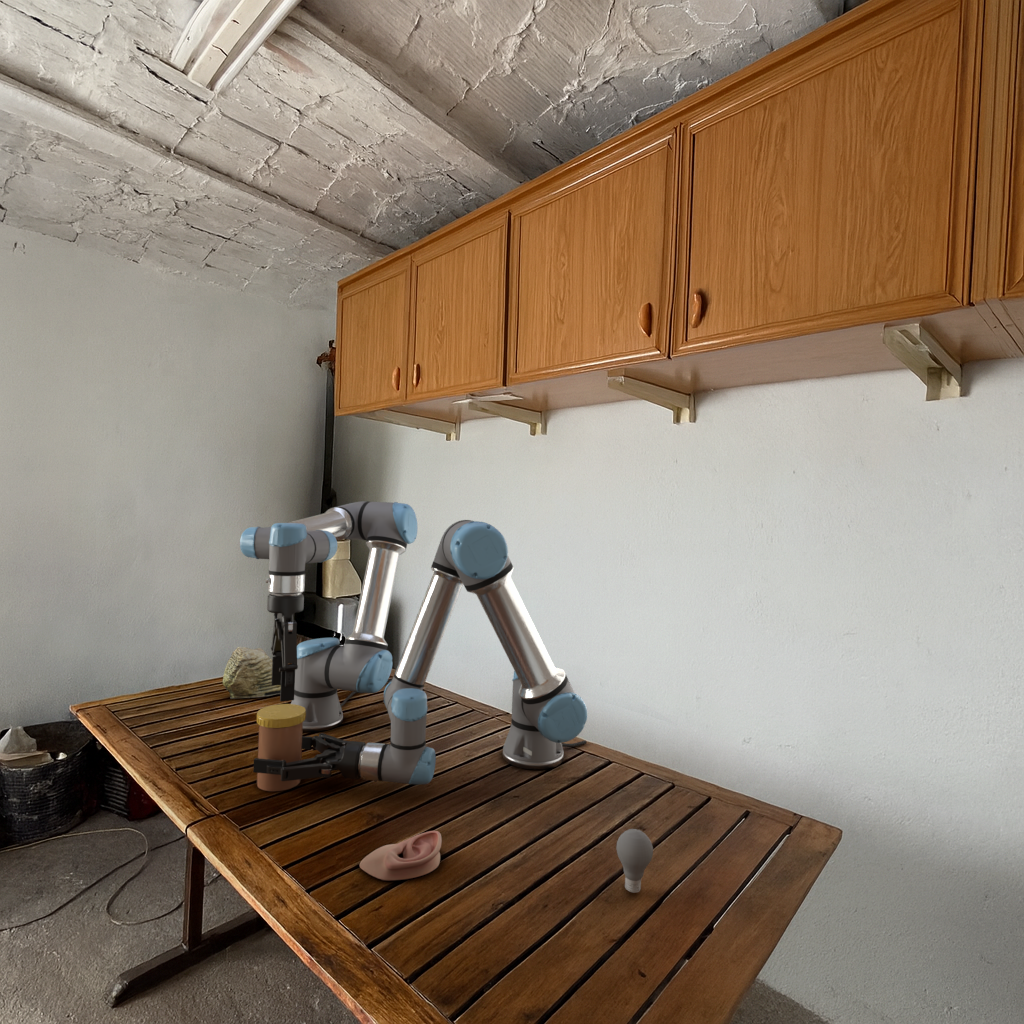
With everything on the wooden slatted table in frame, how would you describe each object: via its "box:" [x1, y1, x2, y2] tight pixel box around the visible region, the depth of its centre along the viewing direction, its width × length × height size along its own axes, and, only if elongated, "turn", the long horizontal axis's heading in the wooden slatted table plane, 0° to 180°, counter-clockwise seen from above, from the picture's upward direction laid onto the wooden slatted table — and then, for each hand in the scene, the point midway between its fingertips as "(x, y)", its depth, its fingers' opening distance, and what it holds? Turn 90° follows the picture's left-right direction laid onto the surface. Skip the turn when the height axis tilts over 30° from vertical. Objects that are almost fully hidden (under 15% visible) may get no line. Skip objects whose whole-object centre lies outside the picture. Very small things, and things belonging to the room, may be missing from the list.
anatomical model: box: [359, 830, 443, 882], centre depth 111 cm, size 13×4×12 cm
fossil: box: [222, 646, 281, 699], centre depth 198 cm, size 9×18×15 cm, turn 132°
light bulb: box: [615, 828, 654, 894], centre depth 106 cm, size 6×6×10 cm
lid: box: [255, 703, 306, 728], centre depth 140 cm, size 10×10×2 cm
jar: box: [256, 722, 304, 792], centre depth 140 cm, size 9×9×15 cm
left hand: (282, 692), depth 139 cm, fingers open, 11 cm apart
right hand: (269, 752), depth 139 cm, fingers open, 13 cm apart
